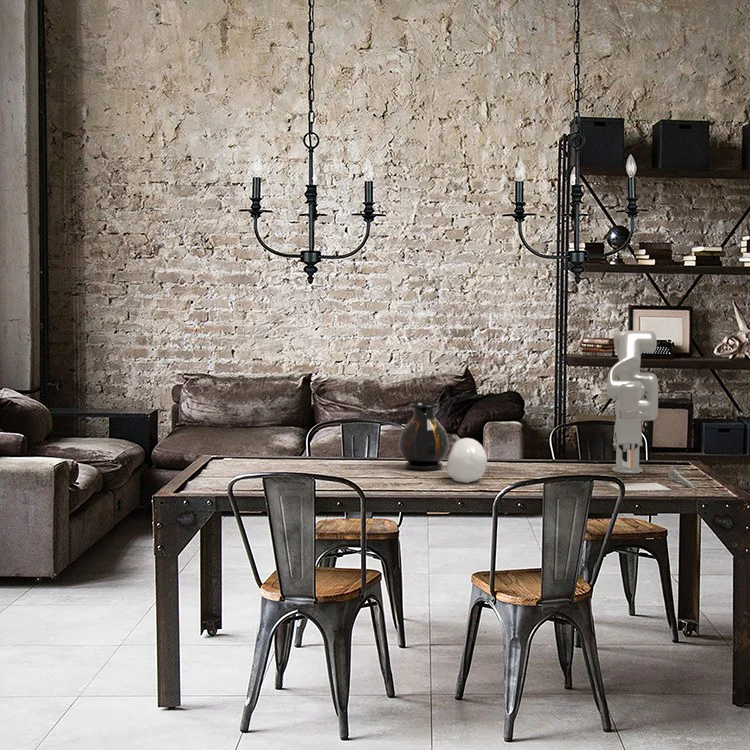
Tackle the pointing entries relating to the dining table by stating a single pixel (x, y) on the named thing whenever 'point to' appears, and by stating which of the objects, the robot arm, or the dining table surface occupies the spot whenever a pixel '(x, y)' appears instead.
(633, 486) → the mat
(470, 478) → the white egg
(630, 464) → the tile
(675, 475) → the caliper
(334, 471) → the dining table surface
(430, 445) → the black vase
